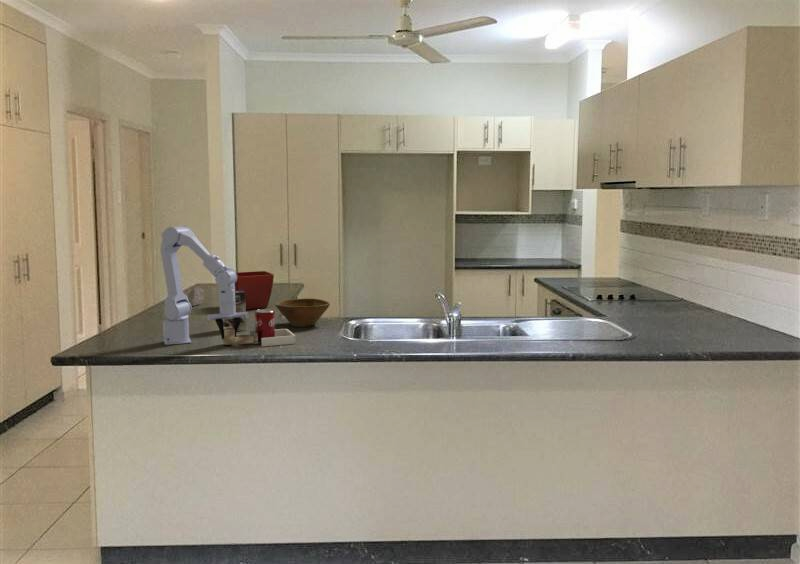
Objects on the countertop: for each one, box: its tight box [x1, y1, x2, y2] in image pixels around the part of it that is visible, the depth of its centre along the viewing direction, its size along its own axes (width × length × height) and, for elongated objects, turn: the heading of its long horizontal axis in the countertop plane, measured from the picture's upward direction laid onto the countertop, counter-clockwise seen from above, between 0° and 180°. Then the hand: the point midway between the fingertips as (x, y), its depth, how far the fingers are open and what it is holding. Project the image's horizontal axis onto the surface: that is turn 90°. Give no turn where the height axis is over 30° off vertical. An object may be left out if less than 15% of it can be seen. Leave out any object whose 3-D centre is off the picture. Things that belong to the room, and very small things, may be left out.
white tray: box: [260, 328, 297, 347], centre depth 261 cm, size 13×15×3 cm
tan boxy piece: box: [222, 327, 259, 346], centre depth 256 cm, size 12×9×6 cm
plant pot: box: [235, 270, 275, 310], centre depth 339 cm, size 19×19×17 cm
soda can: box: [254, 308, 276, 345], centre depth 259 cm, size 7×7×12 cm
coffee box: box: [223, 291, 247, 332], centre depth 282 cm, size 9×6×16 cm
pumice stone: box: [186, 285, 206, 307], centre depth 347 cm, size 15×8×10 cm, turn 167°
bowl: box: [274, 297, 331, 328], centre depth 292 cm, size 22×23×10 cm
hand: (228, 338), depth 255 cm, fingers open, 4 cm apart
